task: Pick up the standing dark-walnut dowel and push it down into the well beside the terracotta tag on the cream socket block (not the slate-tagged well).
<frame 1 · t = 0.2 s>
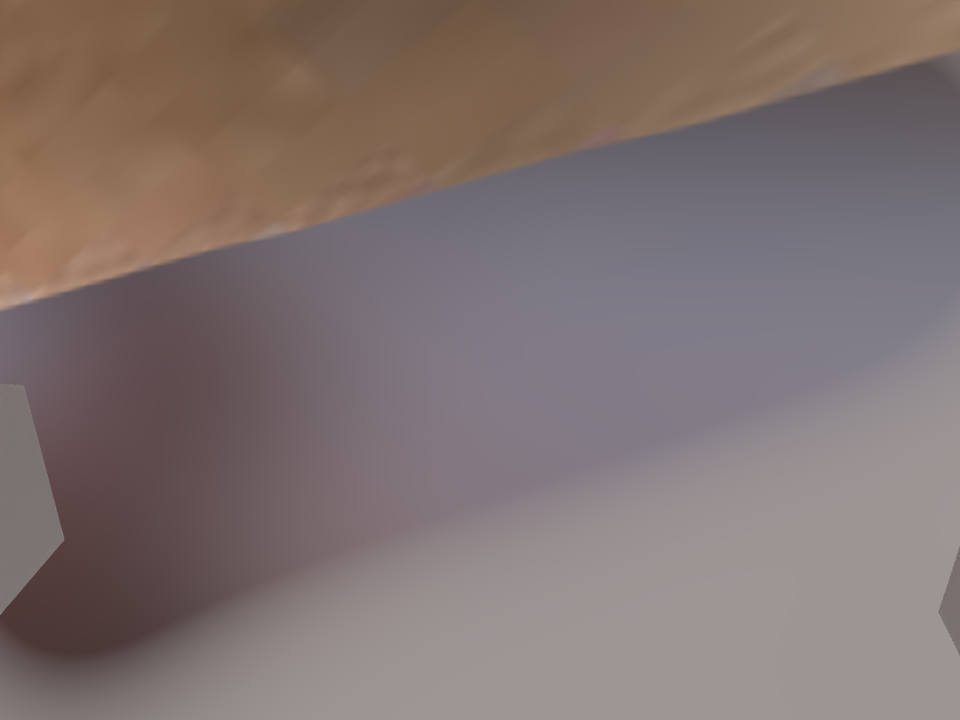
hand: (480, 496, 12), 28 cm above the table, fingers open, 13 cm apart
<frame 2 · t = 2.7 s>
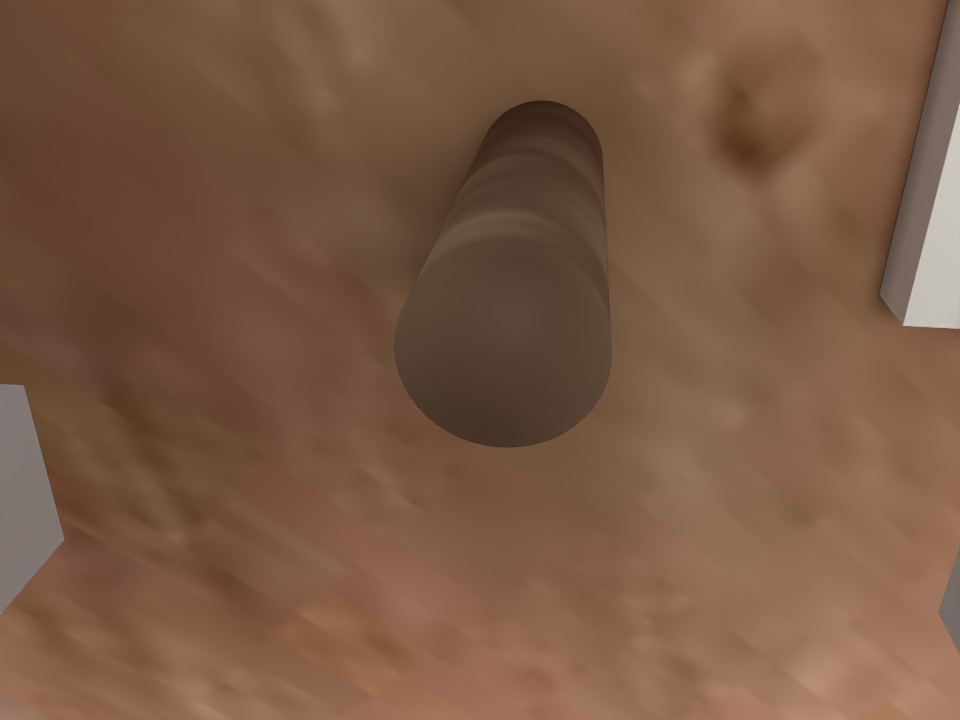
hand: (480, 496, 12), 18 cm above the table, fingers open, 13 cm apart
dowel: (540, 163, 28), on the table
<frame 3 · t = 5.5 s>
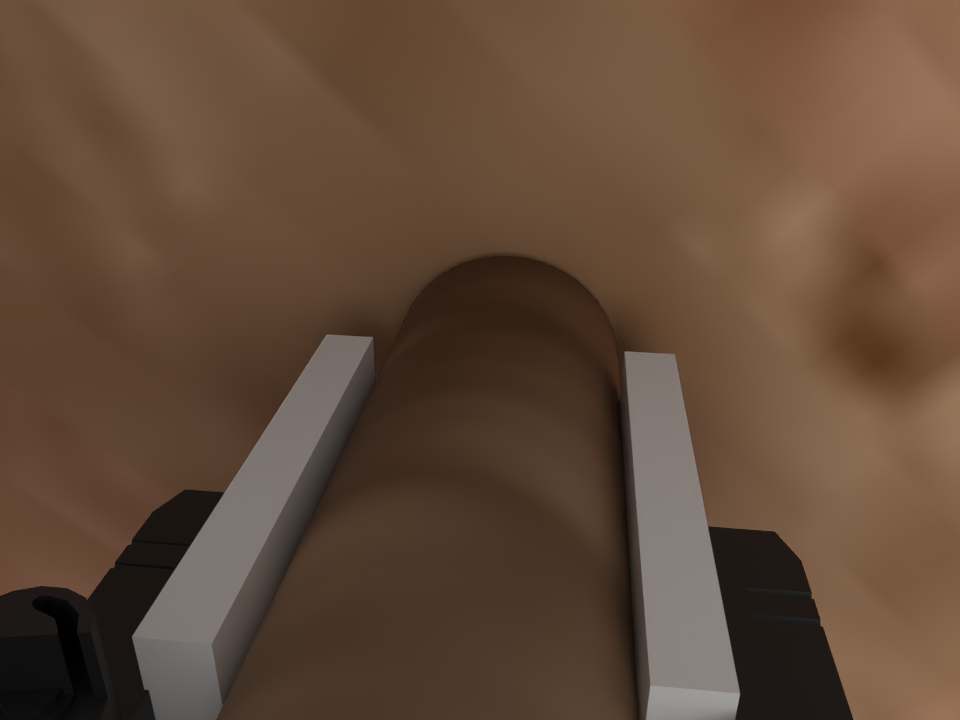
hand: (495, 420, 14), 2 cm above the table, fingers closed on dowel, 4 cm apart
dowel: (507, 360, 16), on the table, touching gripper
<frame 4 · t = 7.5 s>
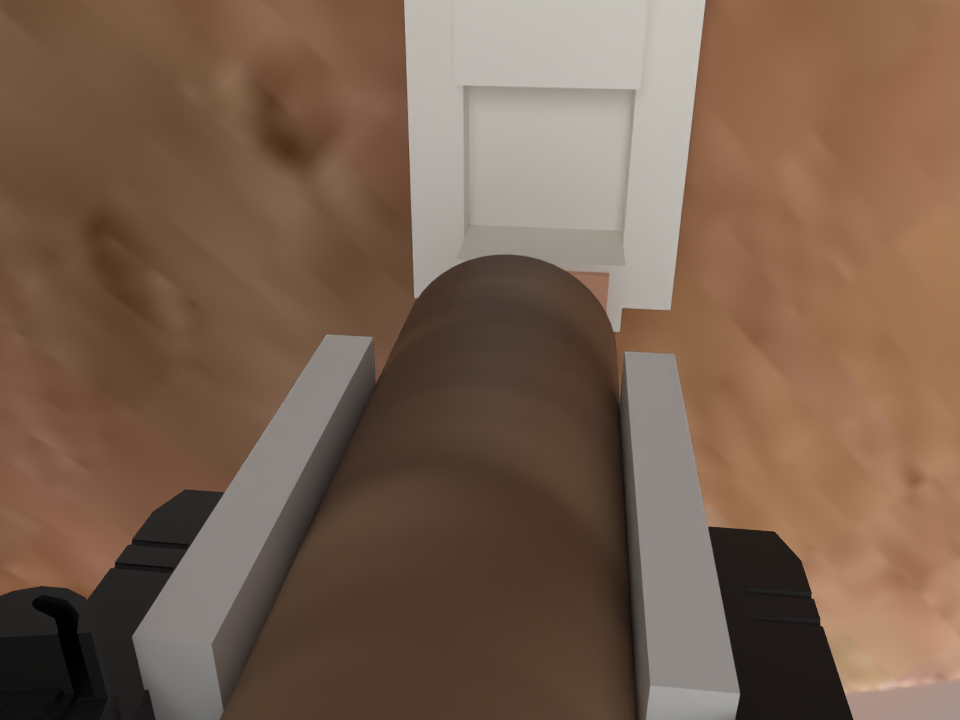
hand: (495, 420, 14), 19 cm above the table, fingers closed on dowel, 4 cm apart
dowel: (508, 355, 16), point 16 cm above the table, touching gripper
when the fingers open (4 cm above the table, at t = 10.2 s): dowel stays where it is, resting on socket block.
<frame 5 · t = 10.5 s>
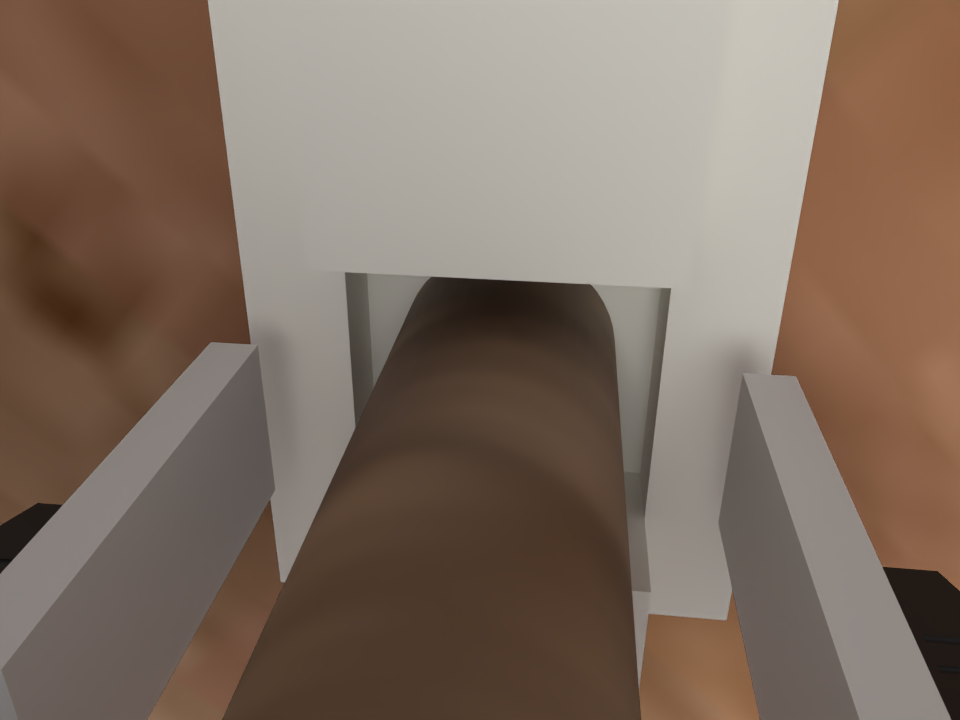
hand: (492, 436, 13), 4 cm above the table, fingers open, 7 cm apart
dowel: (508, 346, 16), point 1 cm above the table, touching socket block
socket block: (521, 61, 15), on the table
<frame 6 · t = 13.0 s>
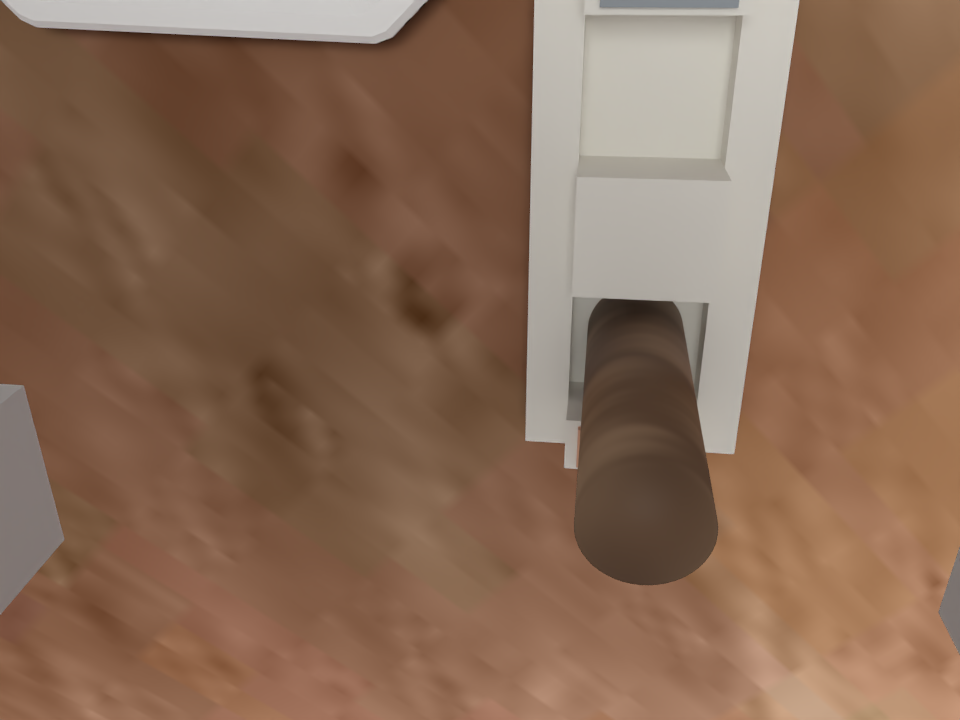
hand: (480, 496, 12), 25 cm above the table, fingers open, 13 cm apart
dowel: (635, 329, 37), point 1 cm above the table, touching socket block
socket block: (643, 207, 36), on the table
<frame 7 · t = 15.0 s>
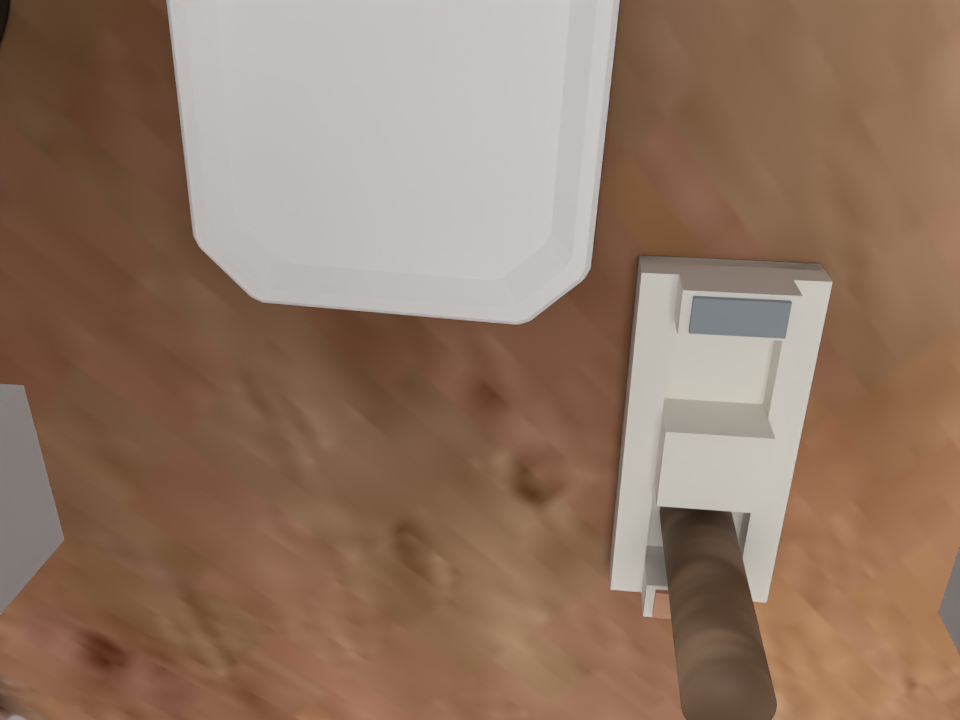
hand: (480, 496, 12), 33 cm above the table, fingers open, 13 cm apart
dowel: (694, 512, 50), point 1 cm above the table, touching socket block
plate: (396, 106, 43), on the table
socket block: (704, 428, 48), on the table
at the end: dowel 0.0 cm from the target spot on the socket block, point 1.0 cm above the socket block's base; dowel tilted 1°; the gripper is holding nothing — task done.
